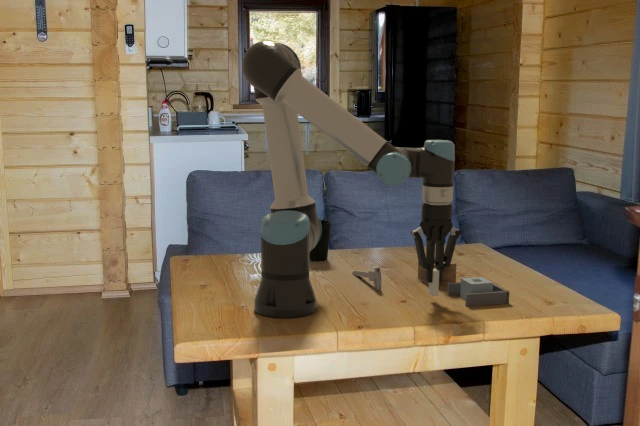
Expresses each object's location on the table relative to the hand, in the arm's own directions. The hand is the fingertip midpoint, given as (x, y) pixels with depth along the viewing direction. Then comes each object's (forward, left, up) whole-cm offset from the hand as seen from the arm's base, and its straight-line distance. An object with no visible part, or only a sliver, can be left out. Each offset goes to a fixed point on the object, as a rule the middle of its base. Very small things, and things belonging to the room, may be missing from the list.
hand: (433, 294), depth 194 cm
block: (+12, 0, -2) cm, 12 cm away
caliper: (-10, +23, -2) cm, 25 cm away
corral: (+12, 0, -2) cm, 12 cm away
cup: (-16, +53, -2) cm, 55 cm away
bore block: (+9, +19, -2) cm, 21 cm away
